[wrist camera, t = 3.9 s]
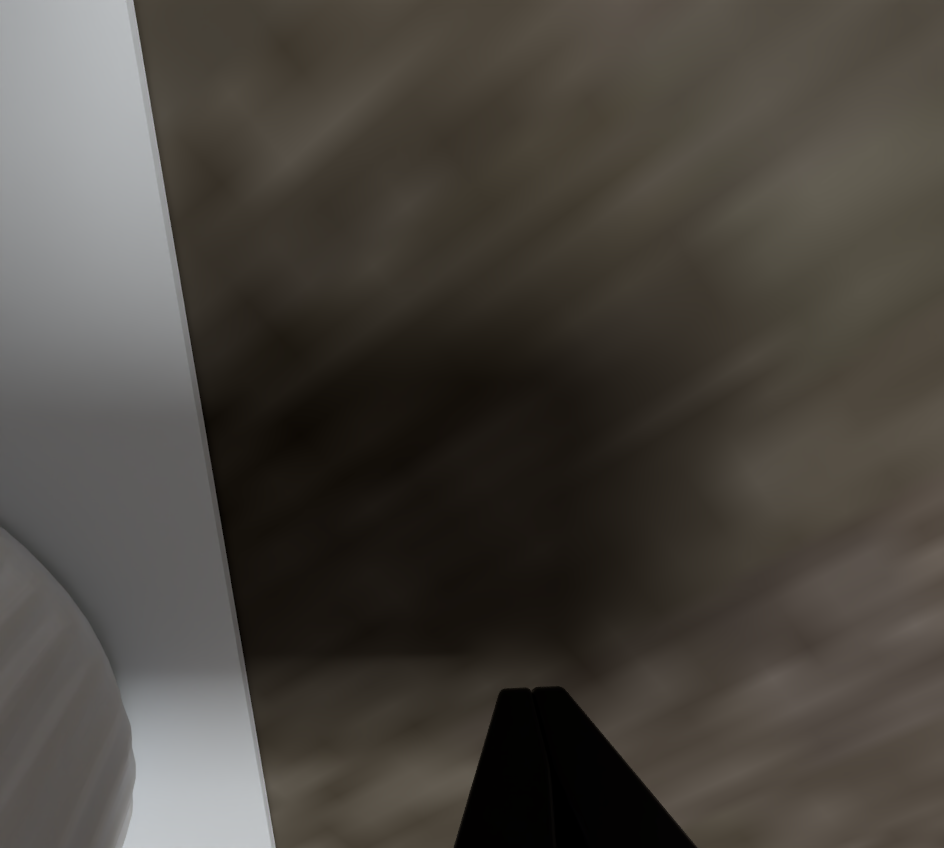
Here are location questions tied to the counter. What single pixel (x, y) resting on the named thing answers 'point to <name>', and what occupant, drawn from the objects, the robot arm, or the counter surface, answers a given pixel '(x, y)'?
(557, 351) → the counter surface
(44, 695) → the ramekin
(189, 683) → the panel
